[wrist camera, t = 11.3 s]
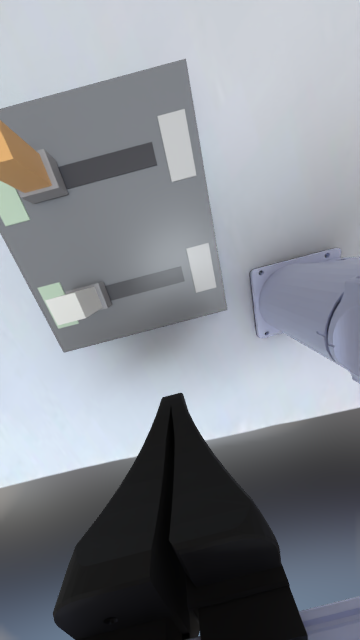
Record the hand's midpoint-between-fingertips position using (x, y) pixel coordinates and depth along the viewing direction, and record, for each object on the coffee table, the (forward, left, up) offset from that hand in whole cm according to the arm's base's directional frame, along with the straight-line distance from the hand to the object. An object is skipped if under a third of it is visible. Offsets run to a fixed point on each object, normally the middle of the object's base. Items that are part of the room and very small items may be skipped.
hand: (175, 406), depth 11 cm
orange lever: (+6, -16, -7) cm, 19 cm away
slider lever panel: (+2, -12, -9) cm, 15 cm away
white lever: (+6, -8, -7) cm, 12 cm away
